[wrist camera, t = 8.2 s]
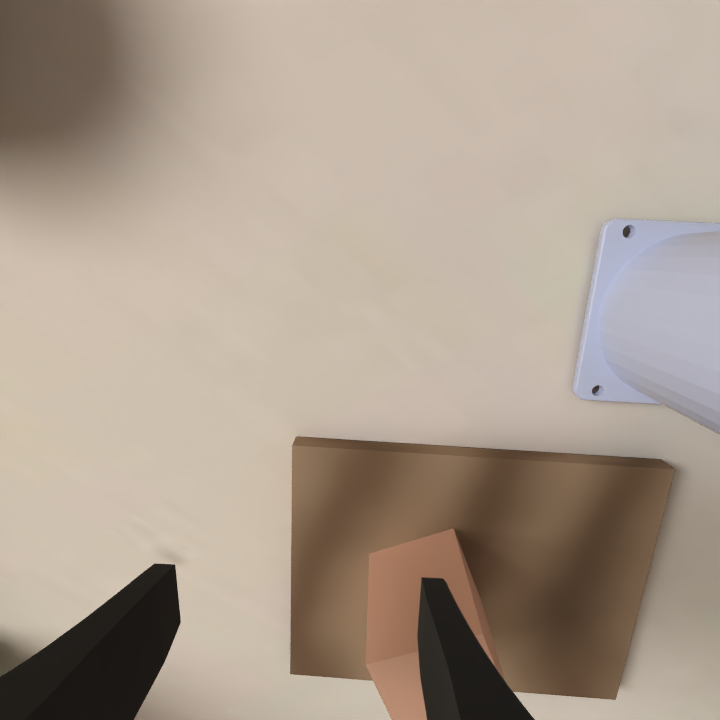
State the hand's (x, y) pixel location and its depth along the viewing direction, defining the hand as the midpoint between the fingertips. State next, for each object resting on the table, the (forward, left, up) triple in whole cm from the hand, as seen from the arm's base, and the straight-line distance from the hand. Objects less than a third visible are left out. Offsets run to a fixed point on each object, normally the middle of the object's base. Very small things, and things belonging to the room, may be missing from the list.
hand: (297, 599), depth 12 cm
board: (-7, +6, -9) cm, 13 cm away
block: (-5, +6, -8) cm, 12 cm away
